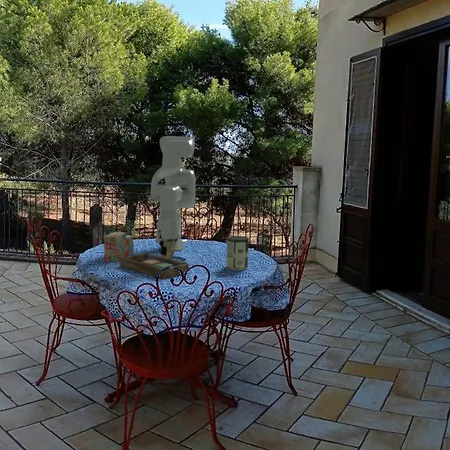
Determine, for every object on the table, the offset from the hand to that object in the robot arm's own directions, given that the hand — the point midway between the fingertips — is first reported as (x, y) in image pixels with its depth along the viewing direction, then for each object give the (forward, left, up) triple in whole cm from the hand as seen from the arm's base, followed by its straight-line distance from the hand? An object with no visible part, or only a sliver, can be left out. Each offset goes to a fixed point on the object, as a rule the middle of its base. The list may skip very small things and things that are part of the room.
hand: (167, 253), depth 229 cm
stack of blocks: (+4, -30, -6) cm, 31 cm away
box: (+8, 0, -6) cm, 10 cm away
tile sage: (+6, +4, -6) cm, 10 cm away
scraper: (0, 0, -5) cm, 5 cm away
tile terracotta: (+6, -4, -6) cm, 9 cm away
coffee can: (-23, +22, -6) cm, 33 cm away
